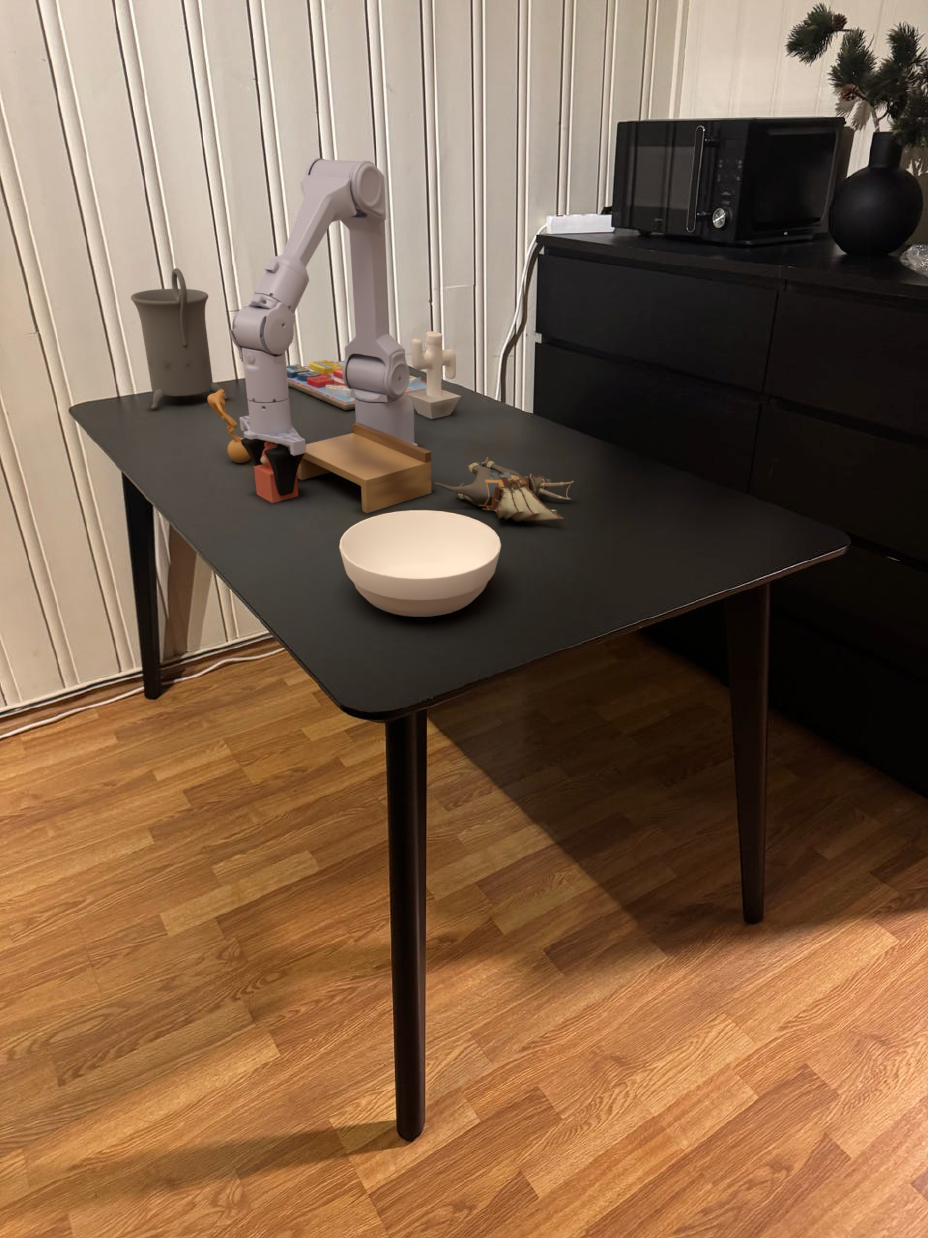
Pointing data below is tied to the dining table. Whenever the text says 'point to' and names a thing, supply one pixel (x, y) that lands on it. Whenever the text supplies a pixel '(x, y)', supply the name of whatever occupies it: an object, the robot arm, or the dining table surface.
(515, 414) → the dining table surface
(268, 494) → the orange box
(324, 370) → the puzzle board
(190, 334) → the grey footed cauldron
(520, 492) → the figurine
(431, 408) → the figurine
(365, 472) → the shelf
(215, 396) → the figurine
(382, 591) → the bowl
